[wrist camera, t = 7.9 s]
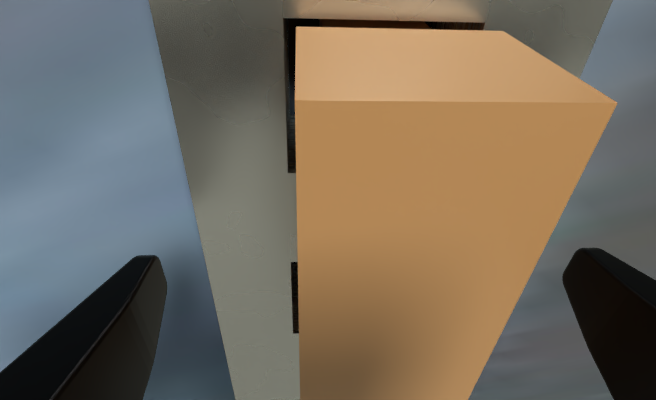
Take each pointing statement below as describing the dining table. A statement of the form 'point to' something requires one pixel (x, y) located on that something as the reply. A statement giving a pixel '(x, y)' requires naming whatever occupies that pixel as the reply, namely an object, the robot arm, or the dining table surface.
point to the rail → (290, 144)
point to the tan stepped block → (424, 198)
